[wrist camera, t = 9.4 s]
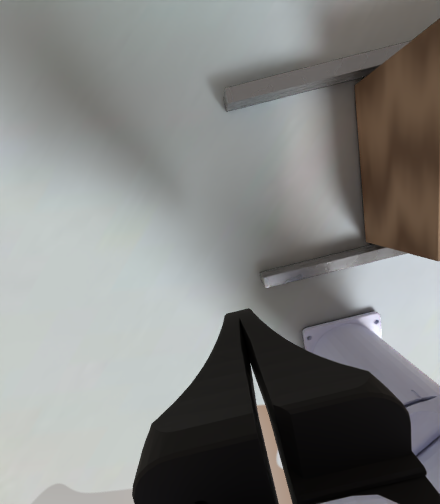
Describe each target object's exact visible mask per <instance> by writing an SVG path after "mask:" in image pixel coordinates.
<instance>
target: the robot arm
mask: <svg viewBox="0 0 440 504" xmlns="http://www.w3.org/2000/svg"><path fill="white" fill-rule="evenodd" d="M375 320H376V321H375ZM374 321H375V322H374ZM302 333H303V339H304V345H305V349H303V348H300V347H299V346H297V345H295V344H293V343H291V342H290V341H288V340H286V339H285V338H283V337H282V336H280V335H279V334H277V333H276V332H275V331H273V330H272V329H271V328H270V327H268V326H267V325H266V324H265V323H264V322H262V321H261V320H260V319H259V318H258V317H257V316H256V315H255V314H254V313H253V311H252V310H251V309H245V310H240V311H236V312H232V313H228V314H226V315H225V317H224V322H223V326H222V329H221V331H220V334H219V337H218V339H217V342H216V344H215V346H214V348H213V350H212V352H211V354H210V356H209V358H208V360H207V361H206V363H205V365H204V366H203V368H202V369H201V371H200V372H199V374H198V375H197V376H196V378H195V379H194V381H193V382H192V383H191V384H190V386H189V387H188V388H187V389H186V390H185V391H184V393H183V394H182V395H181V396H180V397H179V398H178V399H177V400H176V401H175V402H174V403H173V404H172V405H171V406H170V407H169V408H168V409H167V410H166V411H165V412H164V413H163V414H162V415H161V416H160V417H159V418H158V419H157V420H155V421H154V422H153V423H152V425H151V428H150V431H149V433H148V436H147V438H146V441H145V444H144V447H143V450H142V454H141V458H140V461H139V465H138V469H137V472H136V476H135V480H134V484H133V493H132V496H133V499H134V503H135V504H279V503H278V499H277V494H276V490H275V486H274V482H273V477H272V473H271V469H270V465H269V460H268V457H267V451H266V447H265V443H264V438H263V435H262V430H261V426H260V422H259V417H258V412H257V405H256V398H255V392H254V385H253V378H252V371H251V366H252V369H253V372H254V374H255V377H256V380H257V383H258V386H259V388H260V391H261V394H262V397H263V399H264V402H265V405H266V408H267V411H268V414H269V417H270V421H271V425H272V428H273V432H274V436H275V440H276V443H277V447H278V451H279V455H280V458H281V462H282V466H283V469H284V473H285V476H286V480H287V484H288V488H289V492H290V495H291V499H292V503H293V504H440V386H439V385H438V384H437V383H436V382H434V381H433V380H432V379H431V378H429V377H428V376H427V375H426V374H424V373H423V372H422V371H421V370H419V369H418V368H417V367H416V366H415V365H413V364H412V363H411V362H410V361H408V360H407V359H406V358H405V357H403V356H402V355H401V354H400V353H398V352H397V351H396V350H395V349H393V348H392V347H391V346H390V345H388V344H387V343H386V342H385V341H383V340H382V331H381V316H380V314H379V313H378V312H375V311H374V312H369V313H365V314H361V315H357V316H353V317H349V318H345V319H340V320H336V321H332V322H328V323H324V324H320V325H316V326H312V327H308V328H305V329H304V330H303V332H302ZM308 336H310V337H309V338H307V337H308ZM250 363H251V365H250Z"/></svg>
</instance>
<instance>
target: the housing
mask: <svg viewBox="0 0 440 504" xmlns="http://www.w3.org/2000/svg"><path fill="white" fill-rule="evenodd" d="M355 99H356V113H357V126H358V140H359V154H360V167H361V181H362V195H363V208H364V222H365V235H366V242H368V243H372V244H376V245H379V246H383V247H387V248H391V249H394V250H398V251H402V252H406V253H409V254H413V255H417V256H421V257H424V258H428V259H432V260H435V261H440V19H438V20H437V21H436V22H435V23H433V24H432V25H431V26H430V27H428V28H427V29H426V30H424V31H423V32H422V33H421V34H419V35H418V36H417V37H416V38H414V39H413V40H412V41H410V42H409V43H408V44H407V45H405V46H404V47H403V48H402V49H400V50H399V51H398V52H397V53H395V54H394V55H393V56H391V57H390V58H389V59H388V60H386V61H385V62H384V63H383V64H381V65H380V66H379V67H378V68H376V69H375V70H374V71H372V72H371V73H370V74H369V75H367V76H366V77H365V78H364V79H362V80H361V81H360V82H358V83H357V84H356V85H355Z"/></svg>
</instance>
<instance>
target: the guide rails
mask: <svg viewBox="0 0 440 504" xmlns="http://www.w3.org/2000/svg"><path fill="white" fill-rule="evenodd" d="M409 42H410V41H408V42H404V43H400V44H396V45H392V46H388V47H384V48H381V49H377V50H373V51H369V52H365V53H361V54H357V55H353V56H349V57H345V58H341V59H337V60H333V61H329V62H326V63H322V64H318V65H314V66H310V67H306V68H302V69H298V70H294V71H290V72H286V73H282V74H278V75H274V76H270V77H267V78H263V79H259V80H255V81H251V82H247V83H243V84H239V85H235V86H231V87H227V88H225V92H224V102H225V107H226V112H227V111H231V110H235V109H239V108H243V107H247V106H251V105H255V104H259V103H263V102H267V101H271V100H275V99H279V98H283V97H287V96H291V95H294V94H298V93H302V92H306V91H310V90H314V89H318V88H322V87H326V86H330V85H334V84H338V83H342V82H346V81H350V80H354V79H358V78H362V77H366V76H367V75H369V74H370V73H371V72H372V71H374V70H375V69H376V68H378V67H379V66H380V65H381V64H383V63H384V62H385V61H386V60H388V59H389V58H390V57H391V56H393V55H394V54H395V53H397V52H398V51H399V50H400V49H402V48H403V47H404V46H405V45H407V44H408V43H409ZM403 254H407V253H406V252H402V251H398V250H394V249H391V248H387V247H383V246H379V245H376V244H373V245H369V246H365V247H361V248H357V249H353V250H349V251H345V252H341V253H337V254H332V255H328V256H324V257H320V258H316V259H312V260H308V261H304V262H300V263H296V264H292V265H288V266H284V267H280V268H275V269H271V270H267V271H263V272H260V276H261V281H262V283H263V285H264V286H265V288H268V287H272V286H276V285H280V284H284V283H288V282H292V281H296V280H300V279H305V278H309V277H313V276H317V275H321V274H325V273H329V272H333V271H337V270H341V269H345V268H349V267H354V266H358V265H362V264H366V263H370V262H374V261H378V260H382V259H386V258H390V257H394V256H398V255H403Z"/></svg>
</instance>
